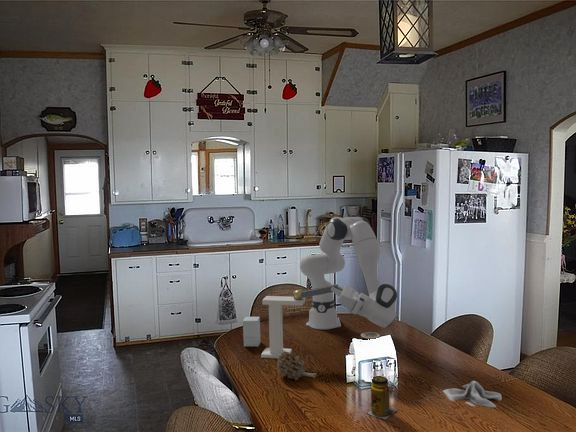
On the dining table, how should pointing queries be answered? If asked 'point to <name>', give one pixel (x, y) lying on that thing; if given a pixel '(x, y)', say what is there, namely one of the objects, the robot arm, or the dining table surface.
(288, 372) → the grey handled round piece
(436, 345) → the dining table surface
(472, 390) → the cloth
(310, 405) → the dining table surface
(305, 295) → the link bar
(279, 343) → the stand
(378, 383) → the condiment
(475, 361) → the dining table surface
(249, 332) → the supplement box
